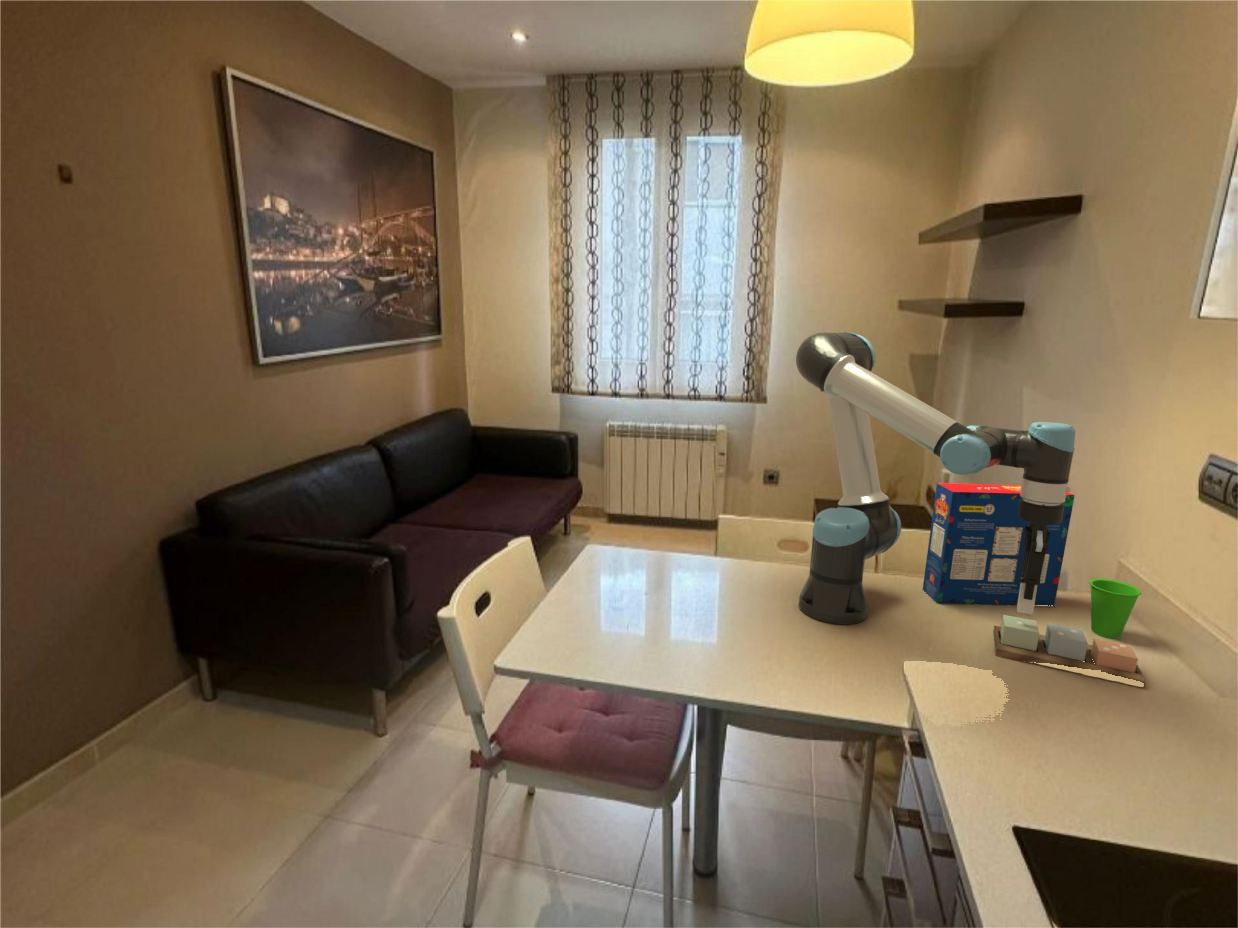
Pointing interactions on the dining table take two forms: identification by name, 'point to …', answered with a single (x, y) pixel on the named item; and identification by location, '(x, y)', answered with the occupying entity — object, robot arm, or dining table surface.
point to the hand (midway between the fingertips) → (1024, 611)
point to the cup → (1111, 606)
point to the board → (1056, 657)
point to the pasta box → (986, 547)
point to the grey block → (1065, 642)
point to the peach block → (1113, 655)
